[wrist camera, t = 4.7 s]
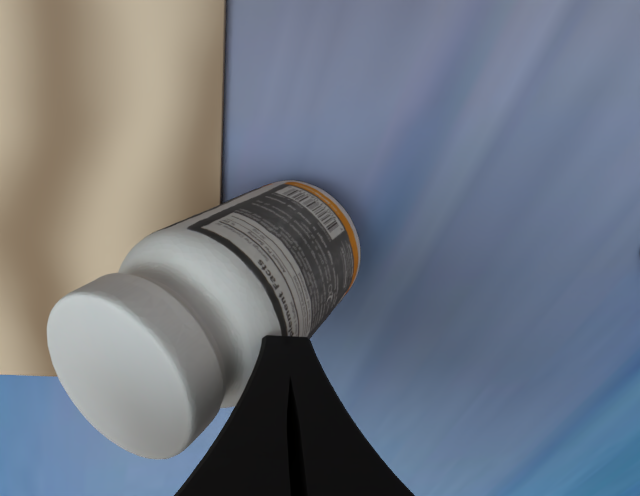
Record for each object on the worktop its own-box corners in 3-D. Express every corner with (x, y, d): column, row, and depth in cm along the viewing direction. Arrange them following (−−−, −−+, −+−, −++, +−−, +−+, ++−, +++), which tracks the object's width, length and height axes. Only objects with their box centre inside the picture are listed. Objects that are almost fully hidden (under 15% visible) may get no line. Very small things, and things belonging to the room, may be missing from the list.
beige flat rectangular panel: (226, -10, 15) (224, -12, 15) (216, 375, 23) (215, 382, 23) (-226, -77, 14) (-243, -81, 13) (-70, 364, 21) (-78, 371, 21)
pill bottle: (271, 305, 21) (90, 467, 12) (230, 191, 19) (-4, 285, 11) (382, 296, 18) (245, 496, 10) (343, 160, 16) (143, 257, 8)
